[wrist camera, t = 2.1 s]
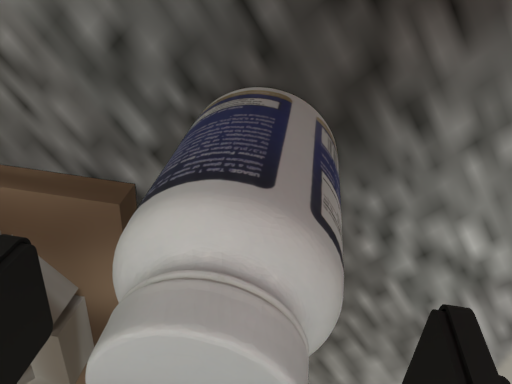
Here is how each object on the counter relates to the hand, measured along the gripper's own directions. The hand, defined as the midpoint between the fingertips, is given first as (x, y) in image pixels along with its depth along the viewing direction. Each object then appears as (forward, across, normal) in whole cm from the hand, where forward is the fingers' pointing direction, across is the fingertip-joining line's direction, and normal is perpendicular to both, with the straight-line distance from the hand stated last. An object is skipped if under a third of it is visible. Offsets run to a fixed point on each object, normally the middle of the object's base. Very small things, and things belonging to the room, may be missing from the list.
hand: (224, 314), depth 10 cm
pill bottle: (+7, 0, -1) cm, 7 cm away
